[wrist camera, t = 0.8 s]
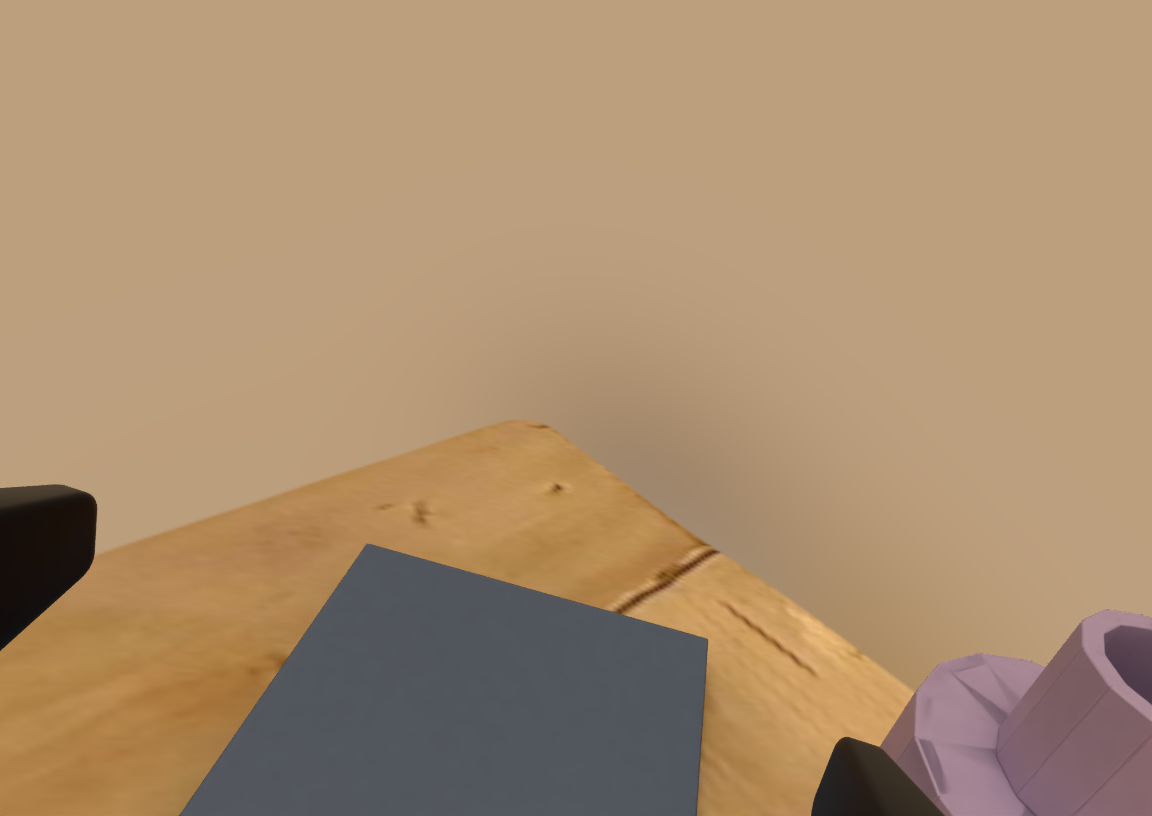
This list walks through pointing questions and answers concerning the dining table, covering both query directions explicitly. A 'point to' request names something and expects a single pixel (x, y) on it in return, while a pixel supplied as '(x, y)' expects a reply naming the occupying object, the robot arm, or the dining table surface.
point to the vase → (1037, 728)
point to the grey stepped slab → (467, 707)
